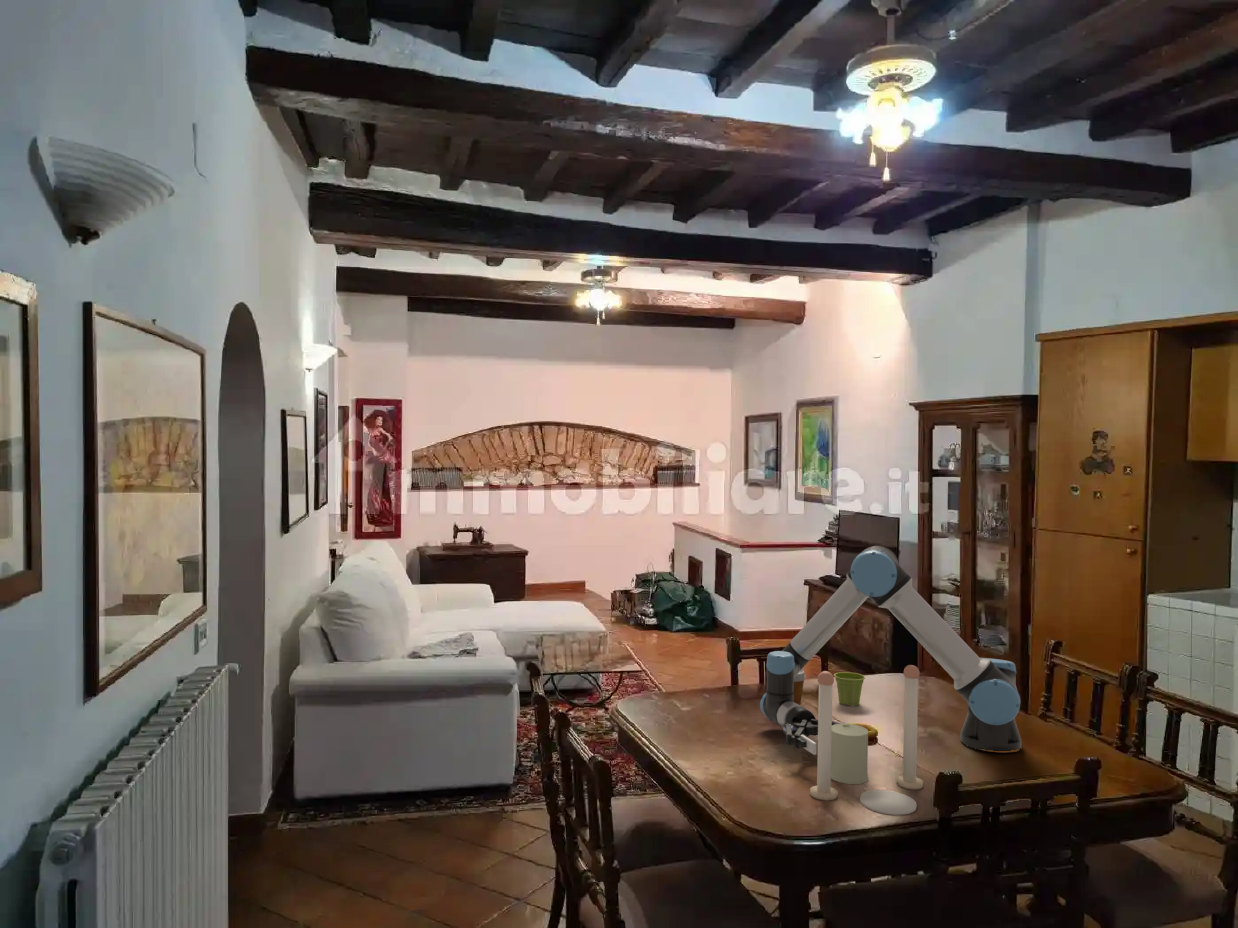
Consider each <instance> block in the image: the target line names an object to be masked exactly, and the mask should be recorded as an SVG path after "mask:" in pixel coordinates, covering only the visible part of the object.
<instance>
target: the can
mask: <svg viewBox="0 0 1238 928" xmlns="http://www.w3.org/2000/svg"><path fill="white" fill-rule="evenodd" d="M868 748H869V730H868V729H867V728H866V727H864V726H861V725H858V724H853V723H841V724H834V725H832V737H831V780H832V781H835V782H838V783H840V784H846V785H859V784H860V785H861V784H864V783H866V782H868V780H869V777H868V753H869V749H868Z"/></svg>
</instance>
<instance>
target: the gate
mask: <svg viewBox="0 0 1238 928" xmlns="http://www.w3.org/2000/svg"><path fill="white" fill-rule="evenodd" d="M903 669H904V670H903V676H904V698H903V699H904V701H903V702H904V705H903V707H904V708H903V711H904V712H903V748H902V749H903V751H902V754H903V755H902V760H903V761H902V762H903V763H902V775H898V776H896V778H895V784H896V785H897V786H899V788H902V789H906V790H921V789H923V788H924V781H923V780H922V779H921V778H920V777H917V765H918V764H917V763H918V762H917V761H918V755H917V753H918V719H919V718H918V713H919V711H918V710H919V707H918V706H919V677H920V675H921V672H920V669H919V668H918V667H917V666H916V665H913V664H908V665H906V666H905V667H904V668H903ZM817 682H818V711H817V714H818V718H817V720H818V735H817V761H816V762H817V770H816V772H817V773H816V777H817V778H816V785H814V786H811V787H810V789H809V790H810V791H809V794H810V796H811V797H812V798H814V799H815V800H816V799H817V800H820V801H833V800H834V801H835V800H836V799H837V798H838V790H837V789H836V788H834V787H832V786H831V785H832V784H831V781H832V779H831V737H832V721H833V685H834V682H835V677H834V674H832V673H831V672H829V671H827V670H823V671H821V672H820V673H819V674H818V675H817Z"/></svg>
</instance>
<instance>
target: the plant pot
mask: <svg viewBox="0 0 1238 928" xmlns="http://www.w3.org/2000/svg"><path fill="white" fill-rule="evenodd" d="M833 677H834V680H835V681H836V687H837V693H838V702H839V704H840V705H844V706H845V705H847V706H850V707H852V706H853V707H855V706H859V704H860V700H861V695H862V694H861V693H862V688H863V684H864V680H865V679H866V676H865V675H863V674H860V673H857V672H850V671H840V672H836V673H834V674H833Z"/></svg>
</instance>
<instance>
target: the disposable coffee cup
mask: <svg viewBox="0 0 1238 928" xmlns="http://www.w3.org/2000/svg"><path fill="white" fill-rule="evenodd" d="M806 677H807V676H806V674H805V671H804V670H803V669H801V670H800V672H799V673H798V674H797V675H796V677H795V678H794V698H793V702H795V703H796V704H798V705H800V706H801V705H802V704H801V703H802V697H803V689H804V683H805V682H804V681H805V679H806Z"/></svg>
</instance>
